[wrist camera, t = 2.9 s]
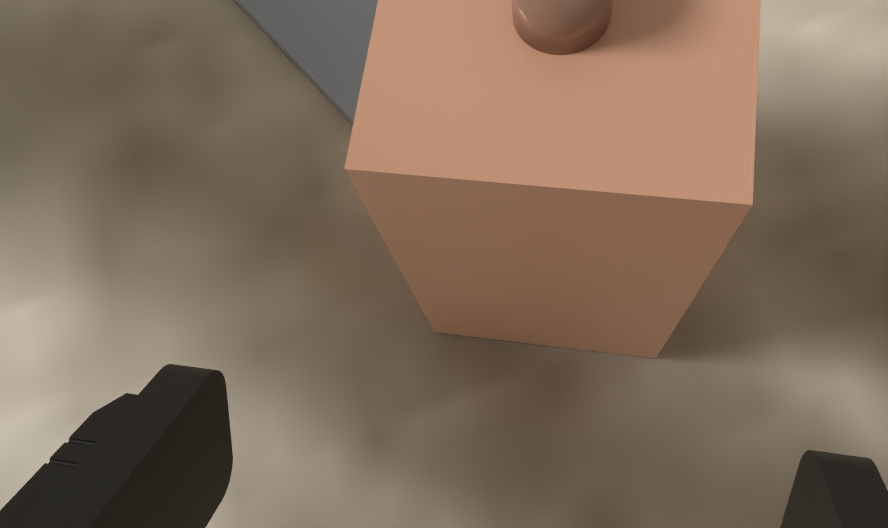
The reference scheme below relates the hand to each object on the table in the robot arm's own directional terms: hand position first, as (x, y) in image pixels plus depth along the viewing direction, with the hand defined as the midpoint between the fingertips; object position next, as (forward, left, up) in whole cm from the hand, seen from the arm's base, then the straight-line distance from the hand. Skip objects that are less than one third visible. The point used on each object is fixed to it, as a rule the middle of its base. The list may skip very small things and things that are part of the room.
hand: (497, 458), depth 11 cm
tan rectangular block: (-5, +6, -11) cm, 13 cm away
